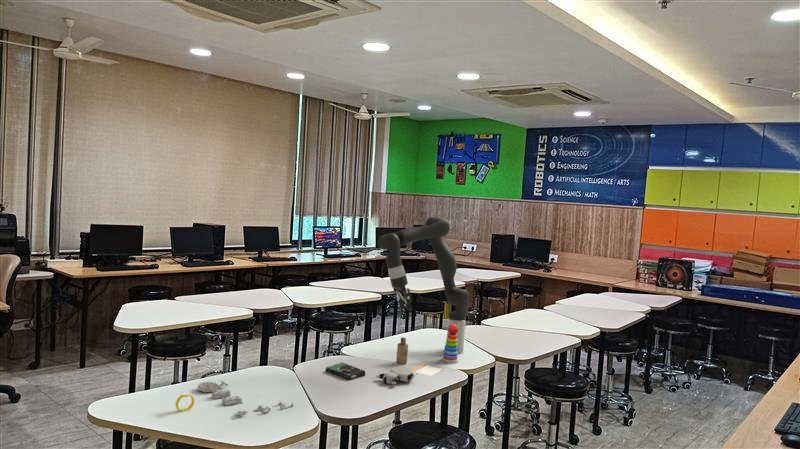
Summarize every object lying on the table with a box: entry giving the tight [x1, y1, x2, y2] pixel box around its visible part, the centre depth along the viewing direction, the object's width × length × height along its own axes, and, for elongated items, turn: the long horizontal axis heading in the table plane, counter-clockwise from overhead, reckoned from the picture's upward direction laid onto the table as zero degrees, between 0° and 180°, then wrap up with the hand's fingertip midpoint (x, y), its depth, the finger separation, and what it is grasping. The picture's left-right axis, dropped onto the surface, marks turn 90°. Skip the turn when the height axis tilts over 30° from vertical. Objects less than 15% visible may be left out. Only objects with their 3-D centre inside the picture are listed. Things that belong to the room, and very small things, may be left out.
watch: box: [175, 391, 195, 412], centre depth 184 cm, size 6×3×6 cm, turn 136°
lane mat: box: [393, 361, 443, 377], centre depth 248 cm, size 15×25×1 cm, turn 60°
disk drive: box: [325, 362, 366, 382], centre depth 234 cm, size 10×3×15 cm
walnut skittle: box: [395, 337, 409, 366], centre depth 252 cm, size 5×5×12 cm
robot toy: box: [375, 365, 419, 385], centre depth 229 cm, size 12×4×15 cm
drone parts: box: [197, 380, 294, 417], centre depth 199 cm, size 23×35×3 cm, turn 43°
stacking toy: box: [441, 324, 459, 364], centre depth 262 cm, size 8×8×19 cm
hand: (406, 309), depth 246 cm, fingers open, 8 cm apart
